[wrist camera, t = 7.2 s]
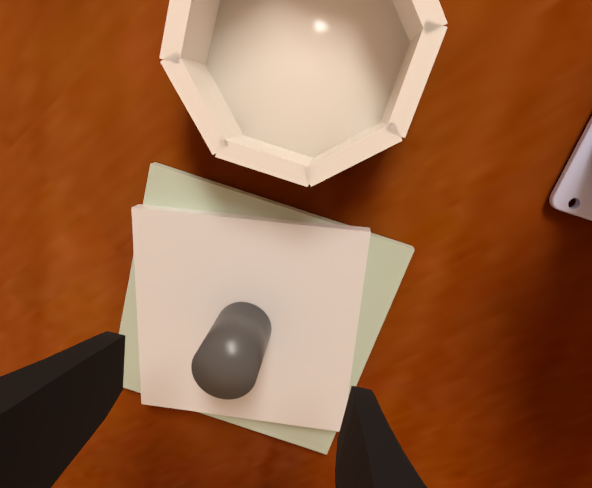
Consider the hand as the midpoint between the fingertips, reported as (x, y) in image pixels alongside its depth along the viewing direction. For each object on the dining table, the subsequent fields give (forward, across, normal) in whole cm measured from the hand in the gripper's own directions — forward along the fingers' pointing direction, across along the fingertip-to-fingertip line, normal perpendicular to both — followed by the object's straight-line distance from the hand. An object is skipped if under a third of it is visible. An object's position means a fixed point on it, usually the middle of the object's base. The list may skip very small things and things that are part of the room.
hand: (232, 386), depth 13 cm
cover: (+10, +1, +3) cm, 10 cm away
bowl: (+10, +1, -10) cm, 15 cm away
